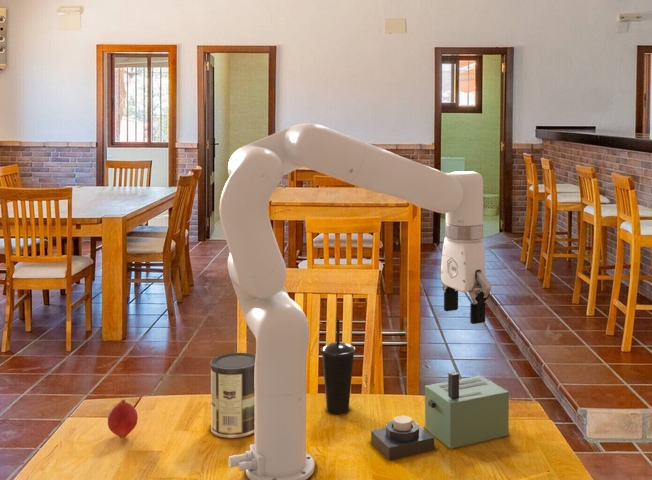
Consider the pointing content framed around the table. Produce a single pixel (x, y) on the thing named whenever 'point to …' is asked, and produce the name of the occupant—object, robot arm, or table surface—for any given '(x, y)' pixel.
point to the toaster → (467, 412)
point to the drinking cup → (337, 373)
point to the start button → (402, 423)
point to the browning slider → (453, 385)
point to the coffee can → (233, 395)
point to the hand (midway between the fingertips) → (463, 316)
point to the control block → (402, 441)
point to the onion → (122, 419)
